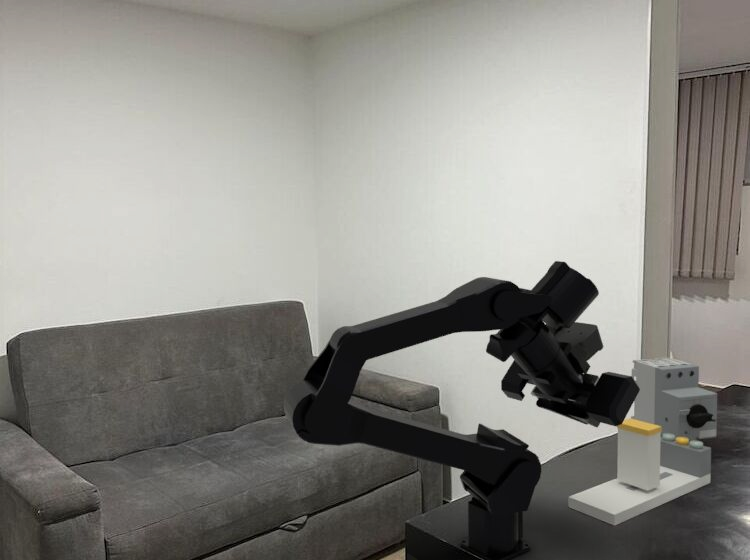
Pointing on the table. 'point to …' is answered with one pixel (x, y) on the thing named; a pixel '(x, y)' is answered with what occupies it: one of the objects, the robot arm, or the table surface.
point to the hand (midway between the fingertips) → (593, 422)
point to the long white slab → (677, 477)
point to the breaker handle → (639, 454)
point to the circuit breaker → (674, 398)
